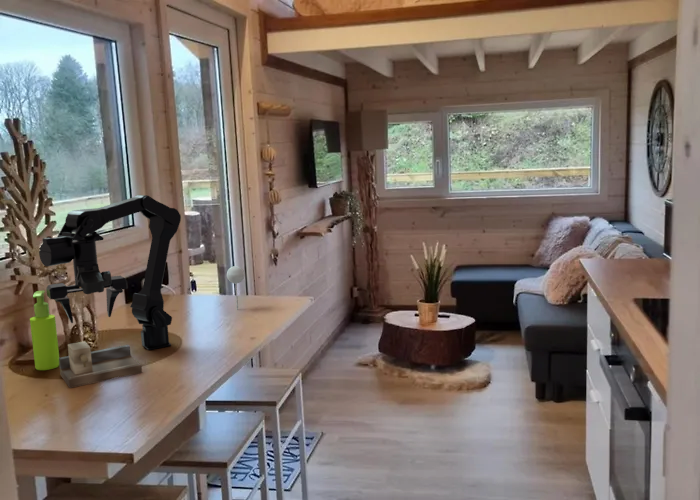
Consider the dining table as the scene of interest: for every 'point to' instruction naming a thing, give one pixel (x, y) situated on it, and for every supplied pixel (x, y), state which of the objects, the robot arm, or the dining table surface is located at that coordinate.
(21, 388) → the dining table surface
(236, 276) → the lollipop
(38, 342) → the soap dispenser
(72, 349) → the block
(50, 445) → the dining table surface
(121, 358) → the grey stepped stand
